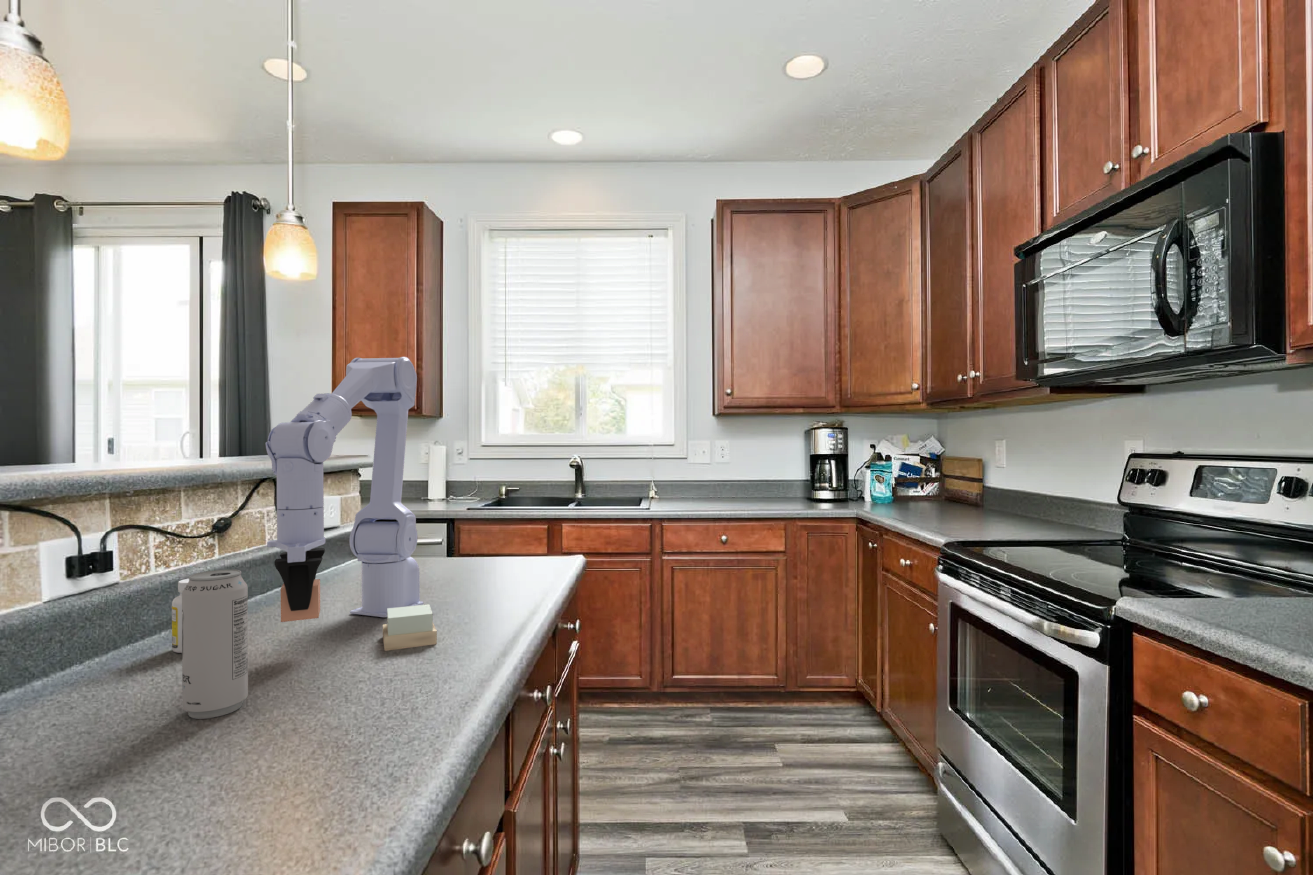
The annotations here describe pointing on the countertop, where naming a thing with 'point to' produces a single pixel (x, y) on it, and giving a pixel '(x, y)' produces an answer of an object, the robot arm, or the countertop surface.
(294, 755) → the countertop surface
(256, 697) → the countertop surface
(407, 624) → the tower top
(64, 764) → the countertop surface
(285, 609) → the terracotta cube
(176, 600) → the supplement bottle
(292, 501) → the robot arm
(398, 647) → the tower base
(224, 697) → the energy drink can
